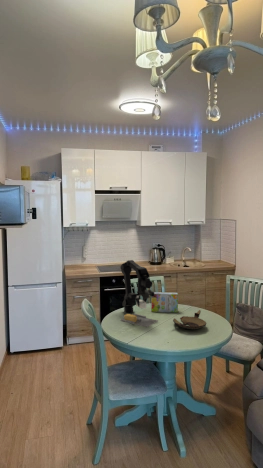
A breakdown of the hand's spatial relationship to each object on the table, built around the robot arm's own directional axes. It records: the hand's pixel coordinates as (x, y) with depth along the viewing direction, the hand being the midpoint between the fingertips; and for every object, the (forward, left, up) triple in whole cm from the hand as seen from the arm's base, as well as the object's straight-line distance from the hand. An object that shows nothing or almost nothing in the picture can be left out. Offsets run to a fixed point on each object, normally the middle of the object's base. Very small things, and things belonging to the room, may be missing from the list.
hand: (141, 306), depth 229 cm
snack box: (+2, +31, -12) cm, 33 cm away
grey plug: (0, 0, -1) cm, 1 cm away
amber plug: (-5, -7, -10) cm, 13 cm away
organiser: (0, -3, -12) cm, 12 cm away
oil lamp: (+35, +12, -12) cm, 39 cm away
